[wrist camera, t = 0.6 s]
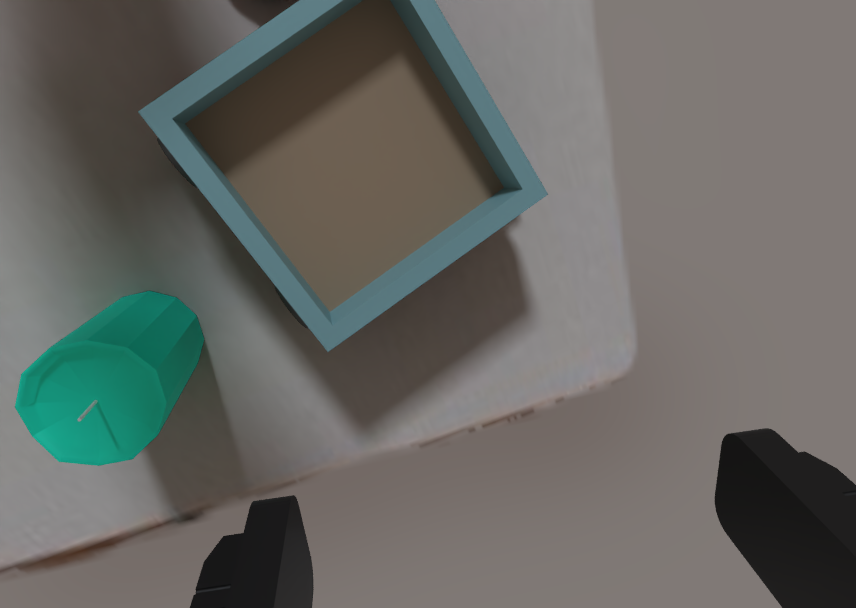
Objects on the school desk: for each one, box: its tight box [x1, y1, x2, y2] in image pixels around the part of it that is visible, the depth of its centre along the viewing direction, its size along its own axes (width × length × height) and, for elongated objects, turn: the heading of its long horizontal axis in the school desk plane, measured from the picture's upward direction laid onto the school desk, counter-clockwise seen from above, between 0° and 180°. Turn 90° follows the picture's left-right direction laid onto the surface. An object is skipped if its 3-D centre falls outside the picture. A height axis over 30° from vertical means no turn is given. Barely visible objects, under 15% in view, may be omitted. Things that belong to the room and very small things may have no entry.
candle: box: [15, 291, 204, 466], centre depth 30 cm, size 6×6×12 cm
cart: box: [138, 0, 548, 352], centre depth 32 cm, size 14×16×7 cm
